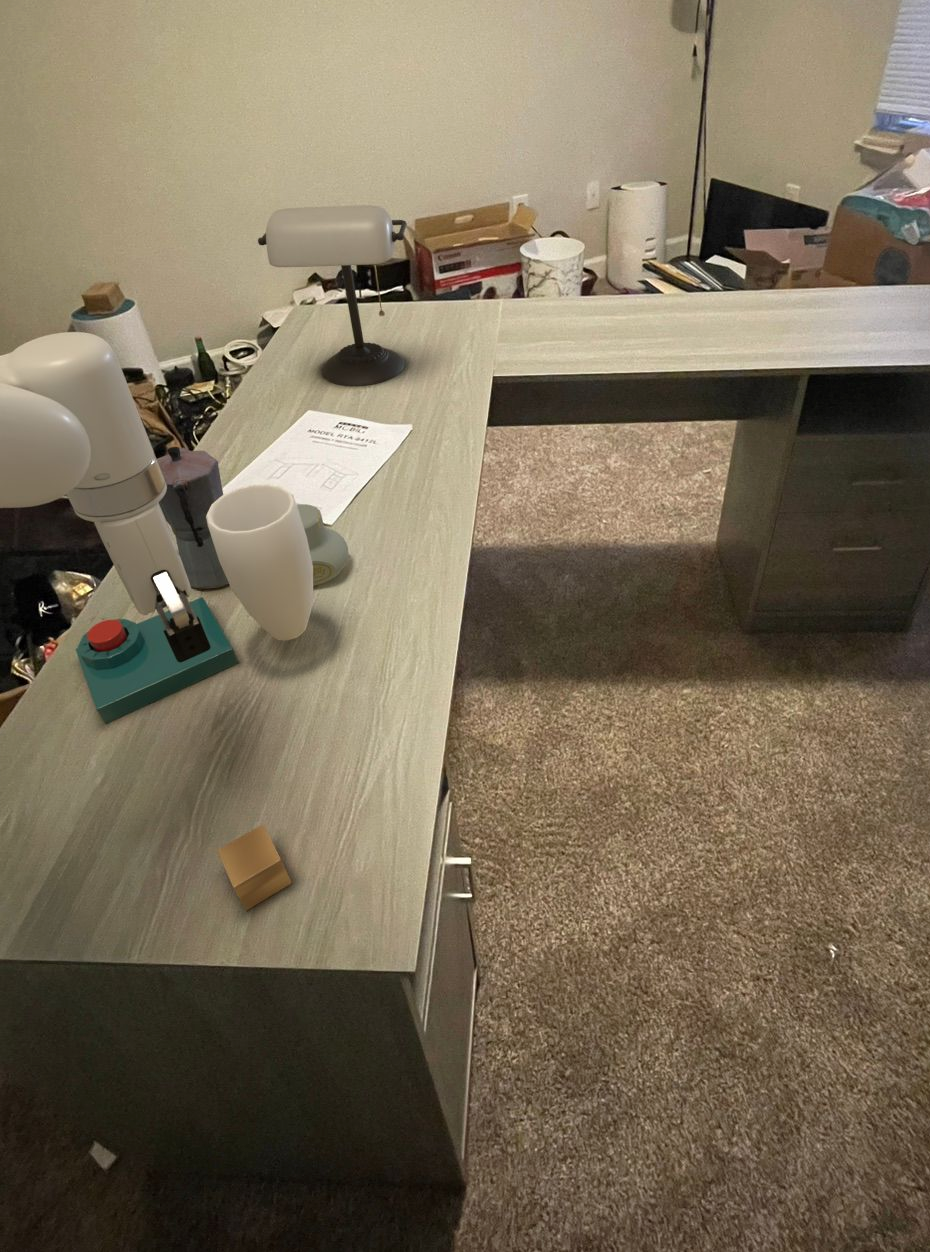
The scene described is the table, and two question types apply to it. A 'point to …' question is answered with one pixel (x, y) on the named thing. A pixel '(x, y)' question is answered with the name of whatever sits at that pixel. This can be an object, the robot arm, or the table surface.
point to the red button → (107, 635)
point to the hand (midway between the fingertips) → (178, 626)
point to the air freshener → (323, 545)
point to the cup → (265, 556)
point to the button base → (149, 664)
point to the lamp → (342, 243)
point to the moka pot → (193, 512)
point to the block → (254, 867)
